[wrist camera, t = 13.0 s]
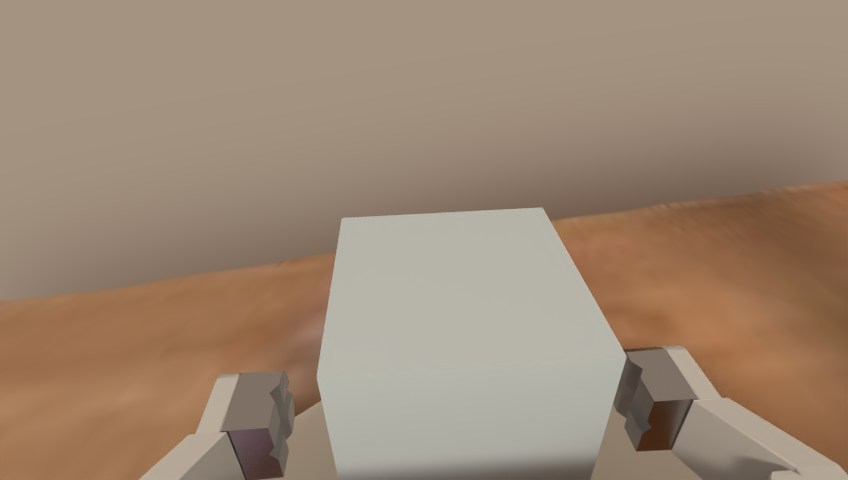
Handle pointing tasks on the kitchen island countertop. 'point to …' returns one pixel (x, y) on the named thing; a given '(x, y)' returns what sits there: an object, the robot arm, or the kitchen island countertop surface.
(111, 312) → the kitchen island countertop surface
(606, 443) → the post board
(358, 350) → the tall grey rectangular prism
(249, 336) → the kitchen island countertop surface
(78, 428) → the kitchen island countertop surface
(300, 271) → the kitchen island countertop surface
